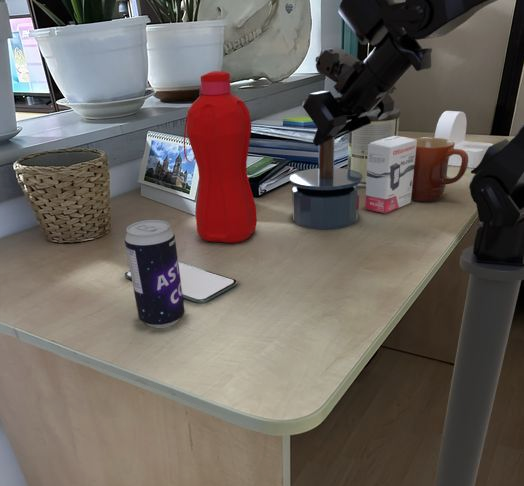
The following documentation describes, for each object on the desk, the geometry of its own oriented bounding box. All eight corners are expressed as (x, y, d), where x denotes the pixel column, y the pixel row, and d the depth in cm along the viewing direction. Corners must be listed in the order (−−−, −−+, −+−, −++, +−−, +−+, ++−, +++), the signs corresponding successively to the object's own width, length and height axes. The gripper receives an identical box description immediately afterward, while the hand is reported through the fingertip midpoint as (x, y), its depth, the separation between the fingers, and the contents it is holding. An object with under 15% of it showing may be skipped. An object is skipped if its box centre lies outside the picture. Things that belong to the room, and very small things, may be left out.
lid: (376, 186, 92) (380, 125, 86) (308, 198, 88) (308, 134, 83) (340, 171, 102) (342, 115, 97) (278, 180, 98) (276, 123, 93)
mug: (392, 199, 106) (396, 144, 100) (415, 188, 111) (420, 135, 106) (449, 210, 99) (457, 151, 93) (471, 198, 104) (480, 142, 99)
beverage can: (165, 335, 64) (149, 238, 58) (130, 324, 67) (111, 231, 61) (194, 315, 69) (183, 222, 62) (160, 305, 71) (146, 216, 65)
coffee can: (338, 178, 120) (340, 109, 113) (378, 172, 123) (383, 105, 116) (361, 190, 112) (364, 116, 105) (404, 183, 115) (410, 111, 108)
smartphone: (240, 284, 76) (161, 259, 84) (240, 280, 76) (160, 256, 84) (202, 305, 71) (121, 277, 79) (201, 302, 70) (120, 273, 79)
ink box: (385, 214, 98) (390, 146, 92) (363, 209, 101) (367, 143, 95) (411, 203, 103) (418, 137, 97) (389, 198, 106) (394, 134, 100)
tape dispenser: (420, 151, 139) (425, 106, 133) (491, 159, 129) (500, 110, 123) (403, 159, 133) (407, 112, 127) (476, 168, 123) (484, 117, 117)
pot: (362, 210, 101) (364, 180, 98) (350, 231, 92) (352, 199, 89) (302, 206, 104) (302, 178, 102) (285, 226, 95) (284, 195, 92)
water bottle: (204, 224, 98) (188, 69, 85) (262, 228, 95) (254, 67, 82) (182, 242, 91) (161, 75, 78) (244, 247, 88) (233, 74, 74)
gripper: (382, 23, 86) (324, 96, 98) (313, 29, 74) (256, 112, 86) (423, 80, 86) (360, 146, 98) (359, 95, 74) (296, 168, 86)
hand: (320, 142), depth 92 cm, fingers closed on lid, 3 cm apart
